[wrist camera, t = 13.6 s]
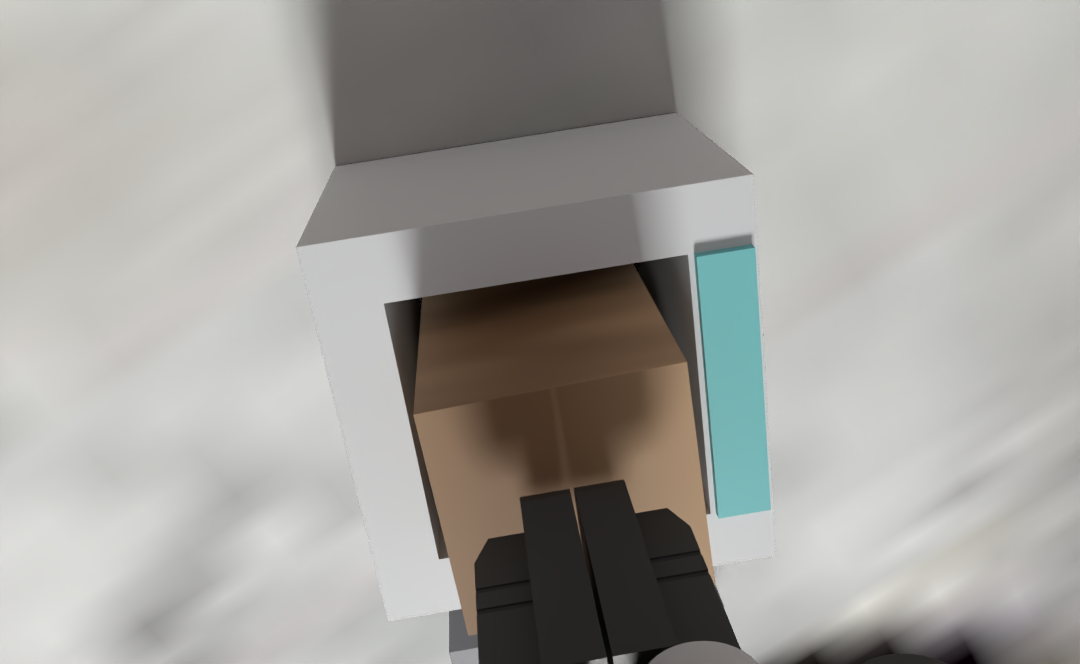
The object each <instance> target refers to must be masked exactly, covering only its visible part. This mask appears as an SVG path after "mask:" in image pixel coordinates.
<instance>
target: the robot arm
mask: <svg viewBox="0 0 1080 664" xmlns="http://www.w3.org/2000/svg"><path fill="white" fill-rule="evenodd" d="M574 496H575V503H576V510H577V516H578V523H579V529H578V524H577V520H576V515H575V511H574V506H573V502H572V497H571V493H570V489H565V490H559V491H553V492H547V493H541V494H535V495H530V496H524V497H520V505H521V512H522V520H523V528H524V533H518V534H513V535H507V536H501V537H495V538H489V539H488V540H487V542H486V543H485V545H484V547H483V549H482V551H481V552H480V554H479V556H478V558H477V559H476V561H475V563H474V569H475V589H476V611H477V637H478V659H479V664H758V663H757V662H756V661H755V660H754V659H753V658H752V657H751V656H750V655H748V654H747V653H745V652H744V651H742V650H741V648H740V646H739V644H738V642H737V639H736V637H735V634H734V632H733V629H732V627H731V624H730V622H729V619H728V617H727V615H726V612H725V610H724V607H723V605H722V602H721V600H720V597H719V595H718V592H717V590H716V588H715V585H714V583H713V580H712V578H711V575H710V574H709V572H708V568H707V565H706V563H705V561H704V558H703V556H702V555H701V552H700V548H699V546H698V543H697V541H696V539H695V536H694V534H693V531H692V529H691V526H690V525H688V524H687V523H686V522H685V521H683V520H682V519H681V518H680V517H678V516H677V515H676V514H675V513H673V512H672V511H671V510H669V509H668V508H663V509H657V510H651V511H646V512H640V513H635V511H634V508H633V505H632V502H631V499H630V496H629V493H628V489H627V486H626V483H625V481H624V479H622V480H616V481H611V482H605V483H599V484H593V485H587V486H581V487H575V488H574ZM579 530H580V534H579ZM580 536H581V538H580ZM863 664H947V663H944V662H941V661H939V660H936V659H933V658H929V657H926V656H921V655H914V654H890V655H885V656H880V657H876V658H874V659H871V660H868V661H867V662H865V663H863Z"/></svg>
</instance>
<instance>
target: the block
mask: <svg viewBox="0 0 1080 664" xmlns="http://www.w3.org/2000/svg"><path fill="white" fill-rule="evenodd" d="M413 416H414V420H415V424H416V428H417V432H418V436H419V440H420V444H421V448H422V452H423V456H424V460H425V464H426V468H427V472H428V476H429V480H430V484H431V488H432V492H433V496H434V500H435V504H436V508H437V512H438V516H439V520H440V524H441V528H442V532H443V536H444V540H445V544H446V548H447V552H448V556H449V560H450V564H451V568H452V572H453V576H454V580H455V584H456V588H457V592H458V596H459V600H460V604H461V608H462V612H463V616H464V620H465V624H466V628H467V632H468V636H470V635H475V634H477V611H476V589H475V569H474V563H475V561H476V559H477V558H478V556H479V554H480V552H481V551H482V549H483V547H484V545H485V543H486V542H487V540H488V539H489V538H495V537H501V536H507V535H513V534H518V533H524V528H523V520H522V512H521V505H520V497H524V496H530V495H535V494H541V493H547V492H553V491H559V490H565V489H570V493H571V497H572V502H573V506H574V511H575V515H576V520H577V524H578V529H579V523H578V516H577V510H576V503H575V496H574V488H575V487H581V486H587V485H593V484H599V483H605V482H611V481H616V480H622V479H624V481H625V483H626V486H627V489H628V493H629V496H630V499H631V502H632V505H633V508H634V511H635V513H640V512H646V511H651V510H657V509H663V508H668V509H669V510H671V511H672V512H673V513H675V514H676V515H677V516H678V517H680V518H681V519H682V520H683V521H685V522H686V523H687V524H688V525H690V526H691V529H692V531H693V534H694V536H695V539H696V541H697V543H698V546H699V548H700V552H701V555H702V556H703V558H704V561H705V563H706V565H707V568H708V572H709V574H710V575H711V578H712V580H713V583H714V585H715V580H714V572H713V564H712V556H711V548H710V540H709V532H708V524H707V516H706V508H705V501H704V493H703V485H702V477H701V469H700V461H699V453H698V445H697V437H696V429H695V422H694V414H693V406H692V398H691V390H690V382H689V374H688V366H687V361H686V359H685V357H684V356H683V354H682V352H681V350H680V348H679V346H678V345H677V343H676V341H675V339H674V337H673V336H672V334H671V332H670V330H669V328H668V326H667V325H666V323H665V321H664V319H663V317H662V315H661V314H660V312H659V310H658V308H657V306H656V305H655V303H654V301H653V299H652V297H651V295H650V294H649V292H648V290H647V288H646V286H645V284H644V283H643V281H642V279H641V277H640V275H639V274H638V272H637V270H636V268H635V266H634V264H633V263H632V264H626V265H620V266H613V267H607V268H601V269H595V270H589V271H582V272H576V273H570V274H564V275H558V276H551V277H545V278H539V279H533V280H527V281H520V282H514V283H508V284H502V285H496V286H490V287H483V288H477V289H471V290H465V291H459V292H452V293H446V294H440V295H434V296H428V297H422V307H421V320H420V333H419V346H418V359H417V372H416V385H415V398H414V411H413ZM579 534H580V530H579ZM580 538H581V536H580Z"/></svg>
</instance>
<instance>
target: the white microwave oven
mask: <svg viewBox="0 0 1080 664" xmlns="http://www.w3.org/2000/svg"><path fill="white" fill-rule="evenodd" d="M296 249H297V253H298V257H299V261H300V265H301V269H302V273H303V277H304V281H305V286H306V290H307V294H308V298H309V302H310V306H311V310H312V314H313V318H314V322H315V326H316V330H317V334H318V338H319V342H320V346H321V351H322V355H323V359H324V363H325V367H326V371H327V375H328V379H329V383H330V387H331V391H332V395H333V399H334V403H335V407H336V411H337V416H338V420H339V424H340V428H341V432H342V436H343V440H344V444H345V448H346V452H347V456H348V460H349V464H350V468H351V472H352V476H353V481H354V485H355V489H356V493H357V497H358V501H359V505H360V509H361V513H362V517H363V521H364V525H365V529H366V533H367V537H368V541H369V546H370V550H371V554H372V558H373V562H374V566H375V570H376V574H377V578H378V582H379V586H380V590H381V594H382V598H383V602H384V607H385V611H386V615H387V619H388V621H394V620H400V619H406V618H412V617H417V616H423V615H429V614H435V613H441V612H447V611H453V610H459V609H462V608H461V604H460V600H459V596H458V592H457V588H456V584H455V580H454V576H453V572H452V568H451V564H450V560H449V556H448V552H447V548H446V544H445V540H444V536H443V532H442V528H441V524H440V520H439V516H438V512H437V508H436V504H435V500H434V496H433V492H432V488H431V484H430V480H429V476H428V472H427V468H426V464H425V460H424V456H423V452H422V448H421V444H420V440H419V436H418V432H417V428H416V424H415V420H414V416H413V411H414V398H415V385H416V372H417V359H418V346H419V333H420V320H421V312H420V307H419V302H418V298H421V297H428V296H434V295H440V294H446V293H452V292H459V291H465V290H471V289H477V288H483V287H490V286H496V285H502V284H508V283H514V282H520V281H527V280H533V279H539V278H545V277H551V276H558V275H564V274H570V273H576V272H582V271H589V270H595V269H601V268H607V267H613V266H620V265H626V264H632V263H638V262H639V270H640V277H641V279H642V281H643V283H644V284H645V286H646V288H647V290H648V292H649V294H650V295H651V297H652V299H653V301H654V303H655V305H656V306H657V308H658V310H659V312H660V314H661V315H662V317H663V319H664V321H665V323H666V325H667V326H668V328H669V330H670V332H671V334H672V336H673V337H674V339H675V341H676V343H677V345H678V346H679V348H680V350H681V352H682V354H683V356H684V357H685V359H686V361H687V366H688V374H689V382H690V390H691V398H692V406H693V414H694V422H695V429H696V437H697V445H698V453H699V461H700V469H701V477H702V485H703V493H704V501H705V508H706V516H707V524H708V532H709V540H710V548H711V556H712V564H713V566H719V565H725V564H730V563H736V562H742V561H748V560H754V559H760V558H766V557H772V556H776V546H775V529H774V512H773V495H772V478H771V461H770V444H769V427H768V411H767V394H766V377H765V360H764V343H763V326H762V309H761V292H760V275H759V258H758V241H757V224H756V207H755V190H754V174H753V173H751V172H750V171H749V170H748V169H746V168H745V167H744V166H743V165H741V164H740V163H739V162H738V161H737V160H735V159H734V158H733V157H732V156H730V155H729V154H728V153H727V152H725V151H724V150H723V149H722V148H720V147H719V146H718V145H717V144H715V143H714V142H713V141H712V140H710V139H709V138H708V137H707V136H705V135H704V134H703V133H702V132H700V131H699V130H698V129H697V128H696V127H694V126H693V125H692V124H691V123H689V122H688V121H687V120H686V119H684V118H683V117H682V116H681V115H679V114H678V113H671V114H665V115H658V116H652V117H646V118H639V119H633V120H627V121H620V122H614V123H608V124H601V125H595V126H589V127H582V128H576V129H570V130H563V131H557V132H551V133H544V134H538V135H532V136H525V137H519V138H513V139H506V140H500V141H494V142H487V143H481V144H475V145H468V146H462V147H456V148H449V149H443V150H437V151H430V152H424V153H418V154H411V155H405V156H399V157H392V158H386V159H380V160H373V161H367V162H361V163H354V164H348V165H342V166H335V168H334V170H333V172H332V174H331V176H330V178H329V180H328V183H327V185H326V187H325V189H324V191H323V193H322V195H321V197H320V199H319V201H318V203H317V205H316V207H315V209H314V211H313V213H312V216H311V218H310V220H309V222H308V224H307V226H306V228H305V230H304V232H303V234H302V236H301V238H300V240H299V242H298V244H297V246H296Z"/></svg>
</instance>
